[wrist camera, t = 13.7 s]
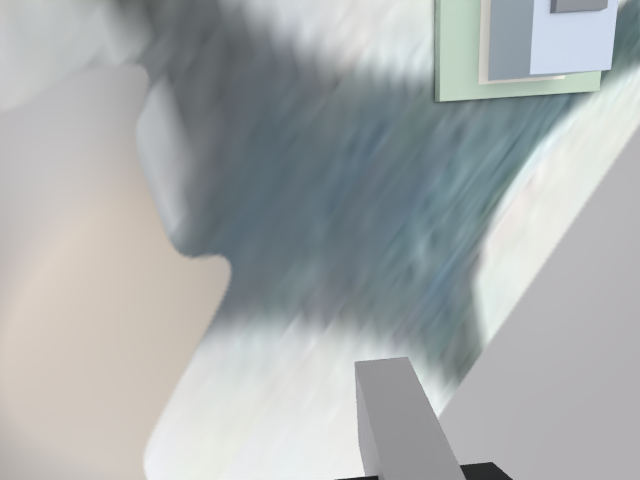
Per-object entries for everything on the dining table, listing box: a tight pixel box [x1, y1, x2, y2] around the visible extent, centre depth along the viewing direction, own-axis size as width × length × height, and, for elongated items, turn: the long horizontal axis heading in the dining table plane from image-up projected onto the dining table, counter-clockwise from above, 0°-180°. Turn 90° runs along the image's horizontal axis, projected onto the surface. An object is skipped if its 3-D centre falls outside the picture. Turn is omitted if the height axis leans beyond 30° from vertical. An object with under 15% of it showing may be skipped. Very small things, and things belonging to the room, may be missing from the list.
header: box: [435, 0, 601, 102], centre depth 31 cm, size 12×12×5 cm
